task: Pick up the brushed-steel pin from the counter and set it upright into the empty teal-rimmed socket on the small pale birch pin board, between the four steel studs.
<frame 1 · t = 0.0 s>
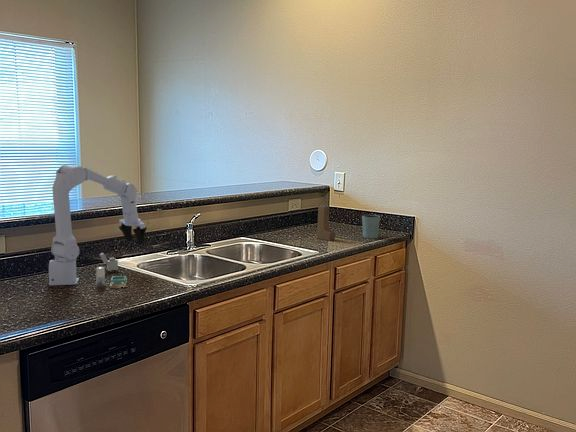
hand: (135, 242, 233), 11 cm above the worktop, tool pointing down, fingers open, 7 cm apart
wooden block: (325, 239, 303), on the worktop
pin board: (118, 284, 210), on the worktop
drinking glass: (370, 237, 313), on the worktop
grey lever block: (109, 271, 228), on the worktop
pin: (100, 286, 207), on the worktop
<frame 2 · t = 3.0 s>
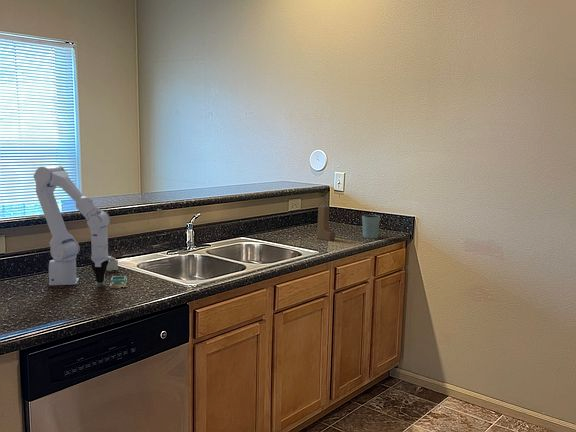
hand: (100, 281, 206), 2 cm above the worktop, tool pointing down, fingers closed on pin, 3 cm apart
pin: (100, 286, 207), on the worktop, touching gripper
everything else where it was.
when the fingers open (4 cm above the worktop, at t = 5.8 s): pin stays where it is, resting on pin board.
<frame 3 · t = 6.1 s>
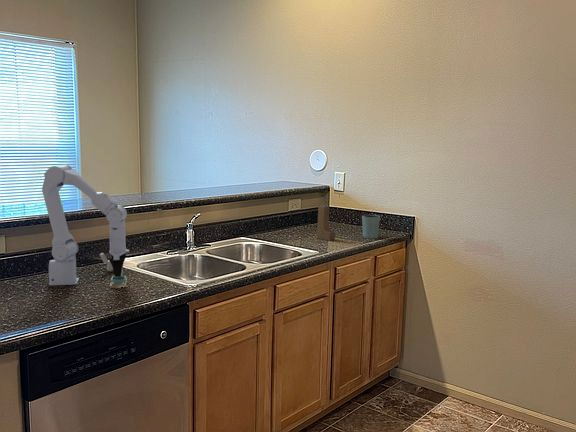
hand: (118, 274, 209), 4 cm above the worktop, tool pointing down, fingers open, 5 cm apart
pin: (118, 281, 209), point 1 cm above the worktop, touching pin board
everything else where it was.
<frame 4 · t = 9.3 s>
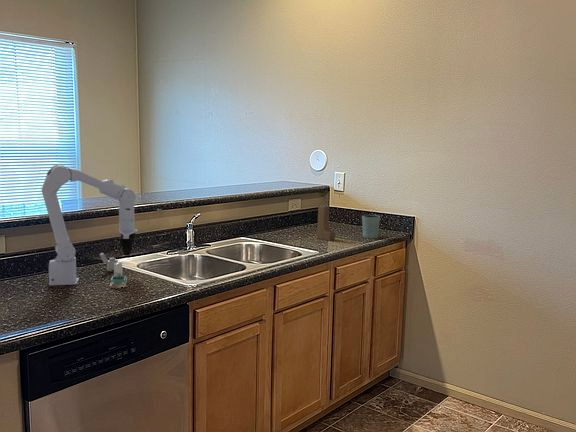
hand: (127, 253, 219), 9 cm above the worktop, tool pointing down, fingers open, 7 cm apart
nothing on the worktop moved.
at the end: pin 0.0 cm off-centre on the pin board, point 1.1 cm above the pin board's base; pin tilted 1°; the gripper is holding nothing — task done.
